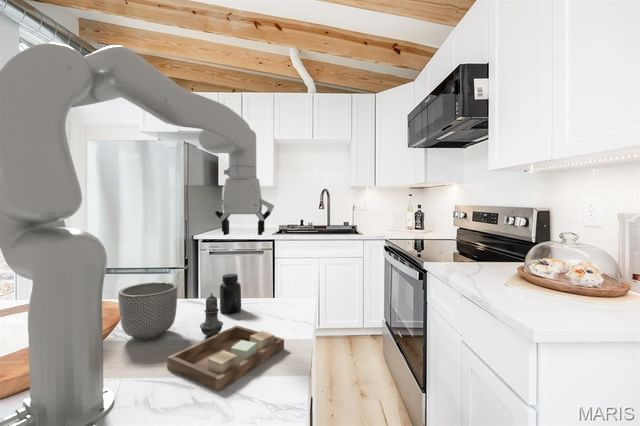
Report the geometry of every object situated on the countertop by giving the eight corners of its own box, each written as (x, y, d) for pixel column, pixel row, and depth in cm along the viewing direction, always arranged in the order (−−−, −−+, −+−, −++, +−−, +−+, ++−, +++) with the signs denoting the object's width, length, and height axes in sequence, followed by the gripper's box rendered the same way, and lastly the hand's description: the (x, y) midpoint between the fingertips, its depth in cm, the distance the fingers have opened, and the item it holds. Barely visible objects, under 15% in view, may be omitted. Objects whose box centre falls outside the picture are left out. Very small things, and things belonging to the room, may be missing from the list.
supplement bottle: (237, 306, 108) (237, 272, 107) (244, 312, 102) (244, 275, 102) (217, 310, 104) (216, 274, 103) (223, 316, 98) (223, 278, 98)
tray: (219, 394, 58) (219, 379, 58) (167, 370, 66) (167, 357, 66) (284, 351, 75) (284, 339, 75) (236, 336, 84) (236, 325, 83)
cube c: (261, 357, 71) (261, 340, 71) (249, 352, 73) (249, 335, 73) (274, 351, 74) (274, 334, 74) (262, 346, 77) (262, 330, 76)
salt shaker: (215, 343, 79) (215, 297, 79) (195, 341, 80) (194, 295, 80) (227, 334, 85) (227, 290, 84) (207, 332, 86) (207, 289, 86)
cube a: (221, 384, 61) (221, 363, 61) (208, 378, 63) (208, 358, 63) (237, 374, 64) (237, 355, 64) (223, 368, 66) (223, 350, 66)
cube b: (246, 369, 66) (246, 351, 66) (230, 365, 67) (230, 347, 67) (256, 360, 70) (256, 343, 70) (241, 357, 71) (241, 340, 71)
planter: (124, 330, 87) (123, 284, 86) (178, 322, 92) (178, 279, 92) (113, 352, 74) (112, 298, 74) (177, 342, 80) (176, 292, 79)
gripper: (207, 172, 83) (208, 236, 84) (271, 172, 83) (271, 236, 84) (216, 175, 91) (217, 233, 92) (275, 175, 91) (275, 233, 92)
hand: (243, 234), depth 88 cm, fingers open, 9 cm apart
